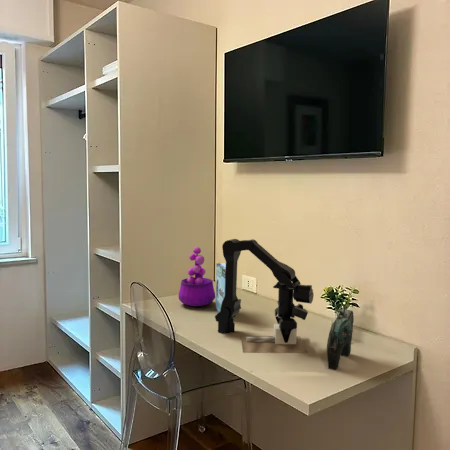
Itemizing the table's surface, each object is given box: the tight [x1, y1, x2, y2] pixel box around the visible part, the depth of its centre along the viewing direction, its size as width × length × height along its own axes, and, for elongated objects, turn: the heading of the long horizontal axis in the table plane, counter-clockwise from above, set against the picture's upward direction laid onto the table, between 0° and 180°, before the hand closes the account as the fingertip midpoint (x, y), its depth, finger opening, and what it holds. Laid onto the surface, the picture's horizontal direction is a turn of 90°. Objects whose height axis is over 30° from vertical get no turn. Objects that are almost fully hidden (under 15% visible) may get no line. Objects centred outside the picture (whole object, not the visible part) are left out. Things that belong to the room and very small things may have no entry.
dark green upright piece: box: [326, 303, 355, 371], centre depth 164 cm, size 20×6×20 cm, turn 150°
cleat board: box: [240, 335, 309, 354], centre depth 177 cm, size 24×18×3 cm
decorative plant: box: [178, 246, 216, 307], centre depth 235 cm, size 19×18×30 cm
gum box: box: [215, 262, 235, 320], centre depth 220 cm, size 20×5×23 cm, turn 13°
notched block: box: [273, 323, 298, 344], centre depth 180 cm, size 8×6×6 cm
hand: (284, 339), depth 180 cm, fingers open, 7 cm apart
